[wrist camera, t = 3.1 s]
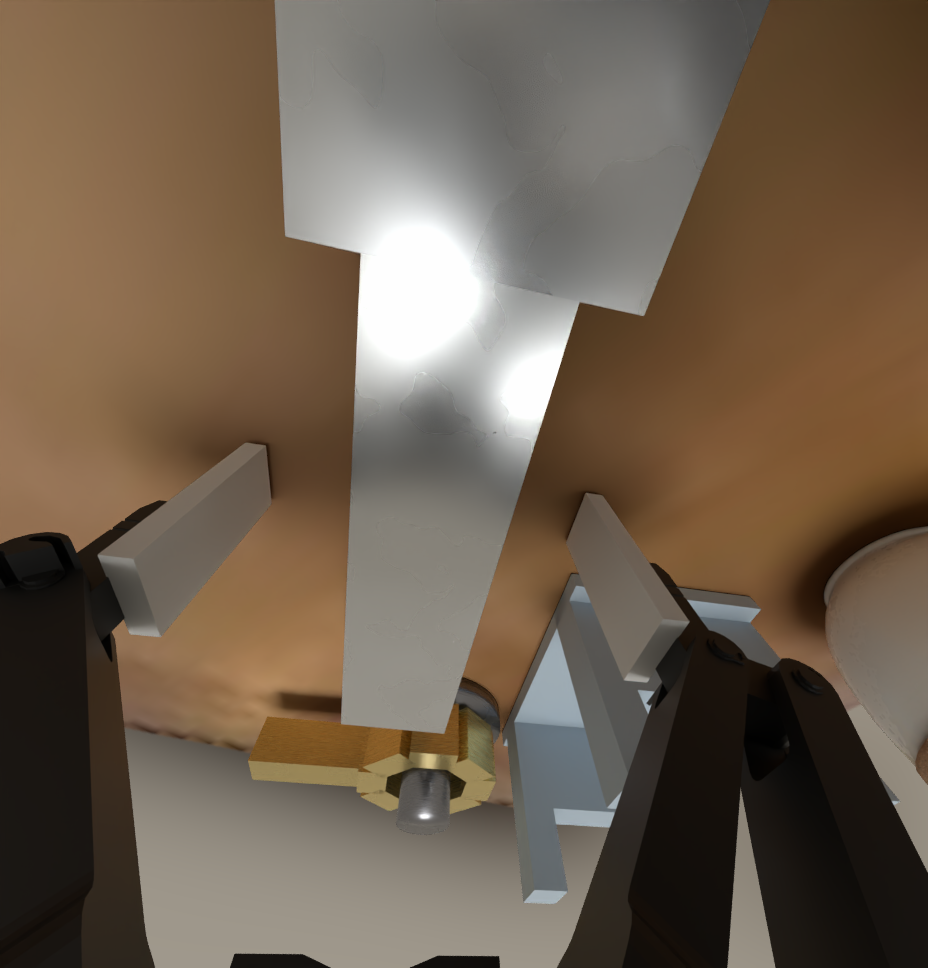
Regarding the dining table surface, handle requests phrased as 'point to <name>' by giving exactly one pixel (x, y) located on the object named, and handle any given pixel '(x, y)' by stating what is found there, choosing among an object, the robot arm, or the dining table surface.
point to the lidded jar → (885, 636)
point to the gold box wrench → (378, 756)
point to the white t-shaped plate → (479, 264)
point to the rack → (589, 727)
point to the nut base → (440, 772)
